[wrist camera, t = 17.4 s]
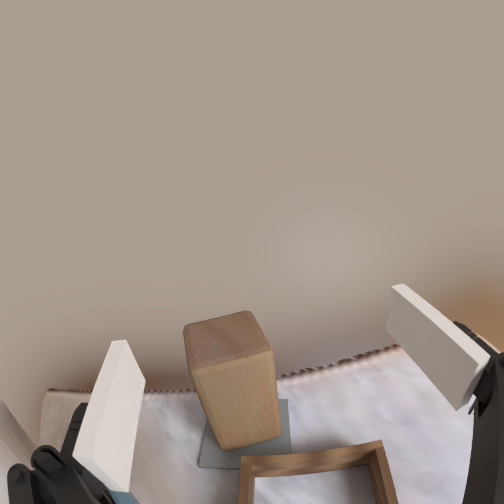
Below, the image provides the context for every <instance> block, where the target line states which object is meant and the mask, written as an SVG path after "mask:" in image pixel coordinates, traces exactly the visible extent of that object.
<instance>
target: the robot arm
mask: <svg viewBox="0 0 504 504" xmlns="http://www.w3.org/2000/svg"><path fill="white" fill-rule="evenodd" d="M386 330H387V332H388V333H389V334H390V335H391V336H392V337H393V338H394V339H395V340H396V341H397V343H398V344H399V345H400V346H401V347H402V348H403V349H404V350H405V352H406V353H407V354H408V355H409V356H410V357H411V358H412V359H413V361H414V362H415V363H416V364H417V365H418V366H419V367H420V369H421V370H422V371H423V372H424V373H425V374H426V376H427V377H428V378H429V379H430V380H431V381H432V383H433V384H434V385H435V386H436V387H437V388H438V390H439V391H440V392H441V393H442V394H443V396H444V397H445V398H446V399H447V400H448V402H449V403H450V404H451V405H452V406H453V408H454V409H455V410H456V411H457V410H458V409H460V408H461V407H463V406H464V405H466V404H467V403H468V402H469V400H470V398H471V396H472V395H473V394H474V395H475V396H476V399H475V401H474V403H473V405H472V406H471V408H470V410H469V413H468V414H471V412H472V411H473V409H474V414H473V415H474V426H473V439H472V450H471V458H470V465H469V472H468V478H467V483H466V489H465V494H464V498H463V502H462V504H504V352H503V353H500V354H498V353H497V352H495V351H494V350H493V349H492V348H491V347H490V346H489V345H487V344H486V343H485V342H484V341H483V340H482V339H480V338H479V337H477V335H476V334H475V333H472V331H471V330H470V329H468V328H467V327H466V326H465V325H463V324H461V323H458V322H456V321H455V322H451V321H450V320H448V319H447V318H446V317H445V316H444V315H442V314H441V313H440V312H439V311H438V310H436V309H435V308H434V307H433V306H431V305H430V304H429V303H427V302H426V301H425V300H424V299H423V298H421V297H420V296H419V295H417V294H416V293H415V292H414V291H412V290H411V289H410V288H408V287H407V286H406V285H405V284H403V283H402V284H398V285H395V286H392V287H391V295H390V305H389V313H388V321H387V329H386ZM144 386H145V379H144V377H143V375H142V373H141V371H140V369H139V367H138V364H137V362H136V360H135V358H134V356H133V354H132V351H131V349H130V347H129V345H128V343H127V340H118V341H112V343H111V345H110V348H109V351H108V353H107V355H106V358H105V360H104V363H103V366H102V368H101V371H100V373H99V376H98V378H97V381H96V384H95V387H94V389H93V392H92V395H91V398H90V401H89V403H81V404H80V405H79V406H78V407H77V409H76V410H75V411H74V414H73V416H72V419H71V423H70V425H69V430H68V431H67V434H66V437H65V440H64V443H63V446H62V449H61V452H60V453H59V452H58V451H57V450H56V449H55V448H54V447H52V446H50V445H43V446H40V447H38V446H37V445H36V444H35V443H34V442H33V441H32V439H31V438H30V437H29V436H28V434H27V433H26V432H25V431H24V429H23V428H22V427H21V426H20V424H19V423H18V422H17V420H16V419H15V418H14V416H13V415H12V413H11V412H10V411H9V409H8V408H7V406H6V405H5V403H4V402H3V400H2V399H1V397H0V504H140V503H139V502H138V501H137V499H136V498H135V497H134V496H133V495H132V493H131V492H130V491H129V486H130V477H131V468H132V460H133V453H134V446H135V439H136V432H137V426H138V420H139V414H140V408H141V402H142V397H143V392H144Z"/></svg>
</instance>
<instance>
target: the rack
mask: <svg viewBox="0 0 504 504" xmlns="http://www.w3.org/2000/svg"><path fill="white" fill-rule="evenodd" d="M365 464H368V466H369V471H370V475H371V480H372V485H373V489H374V494H375V499H376V504H398V500H397V496H396V492H395V488H394V484H393V480H392V476H391V472H390V468H389V465H388V461H387V457H386V454H385V450H384V447H383V443H382V440H377V441H373V442H368V443H364V444H359V445H354V446H349V447H343V448H337V449H331V450H324V451H317V452H308V453H299V454H287V455H272V456H242V457H241V470H240V483H239V495H238V504H254V484H255V477H276V476H291V475H302V474H311V473H319V472H327V471H333V470H339V469H345V468H350V467H355V466H360V465H365Z"/></svg>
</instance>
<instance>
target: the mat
mask: <svg viewBox="0 0 504 504" xmlns="http://www.w3.org/2000/svg"><path fill="white" fill-rule="evenodd" d="M278 402H279V412H280V421H281V435H280V436H279V437H277V438H274V439H271V440H268V441H265V442H261V443H258V444H254V445H251V446H247V447H243V448H239V449H235V450H231V451H223V450H222V449H221V448H220V446H219V444H218V442H217V440H216V437H215V435H214V433H213V431H212V428H211V426H210V424H209V421H208V419H207V423H206V428H205V433H204V439H203V444H202V450H201V455H200V461H199V468H214V469H241V457H242V456H272V455H287V454H291V448H290V430H289V413H288V399H286V400H278Z"/></svg>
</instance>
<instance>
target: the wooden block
mask: <svg viewBox="0 0 504 504" xmlns="http://www.w3.org/2000/svg"><path fill="white" fill-rule="evenodd" d="M183 335H184V343H185V349H186V357H187V363H188V369H189V374H190V376H191V379H192V381H193V384H194V387H195V389H196V392H197V394H198V397H199V400H200V402H201V405H202V407H203V409H204V412H205V414H206V417H207V419H208V421H209V424H210V426H211V428H212V431H213V433H214V435H215V437H216V440H217V442H218V444H219V446H220V448H221V449H222V450H223V451H231V450H235V449H239V448H243V447H247V446H251V445H254V444H258V443H261V442H265V441H268V440H271V439H274V438H277V437H279V436H280V435H281V421H280V412H279V402H278V392H277V383H276V374H275V365H274V355H273V349H272V348H271V346H270V344H269V342H268V341H267V339H266V337H265V335H264V333H263V331H262V330H261V328H260V326H259V324H258V322H257V321H256V319H255V317H254V315H253V314H252V313H251V312H250V311H242V312H238V313H234V314H230V315H226V316H222V317H217V318H213V319H209V320H205V321H200V322H196V323H191V324H188V325H186V326H185V327H184V331H183Z"/></svg>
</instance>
